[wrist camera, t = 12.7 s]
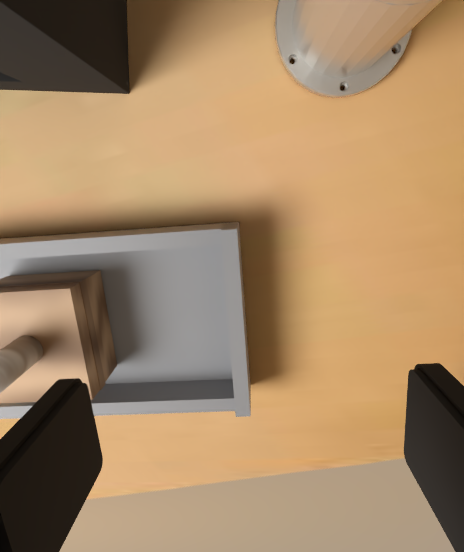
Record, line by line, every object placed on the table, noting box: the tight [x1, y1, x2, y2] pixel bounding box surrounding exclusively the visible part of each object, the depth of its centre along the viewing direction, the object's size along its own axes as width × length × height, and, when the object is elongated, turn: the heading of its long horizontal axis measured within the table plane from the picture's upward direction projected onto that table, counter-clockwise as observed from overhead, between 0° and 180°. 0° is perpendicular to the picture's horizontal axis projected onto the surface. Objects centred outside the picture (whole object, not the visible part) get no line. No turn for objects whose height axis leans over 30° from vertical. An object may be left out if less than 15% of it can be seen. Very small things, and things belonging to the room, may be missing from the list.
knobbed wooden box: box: [0, 270, 117, 403], centre depth 36 cm, size 12×11×13 cm
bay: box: [0, 222, 250, 419], centre depth 40 cm, size 20×30×6 cm
